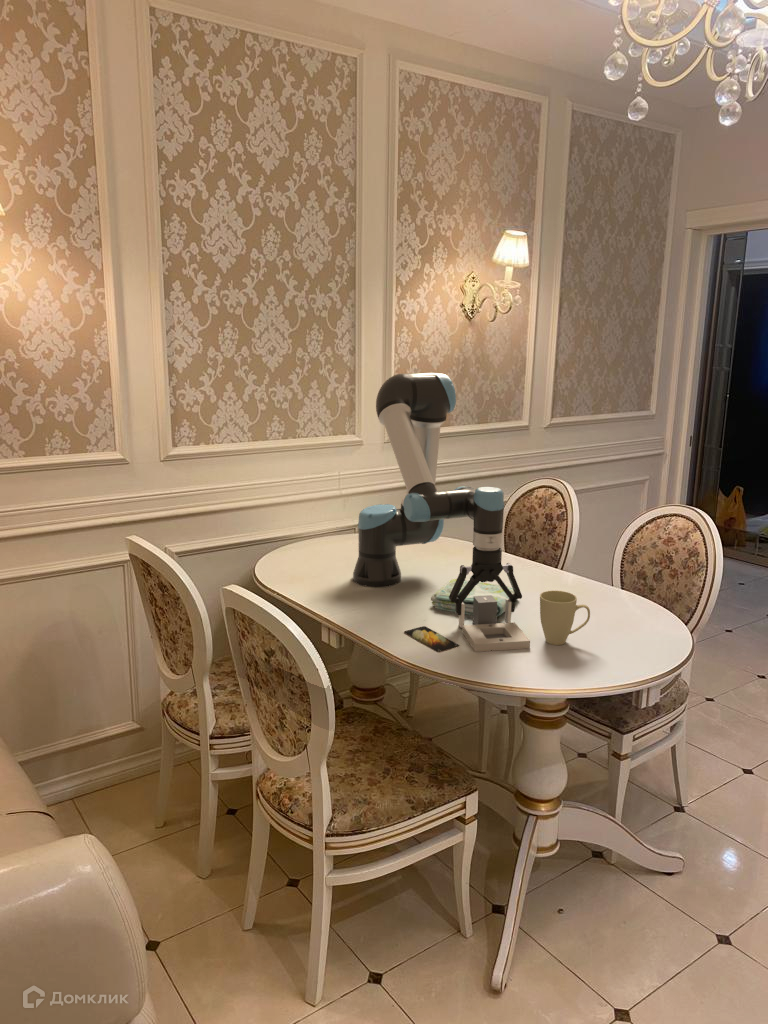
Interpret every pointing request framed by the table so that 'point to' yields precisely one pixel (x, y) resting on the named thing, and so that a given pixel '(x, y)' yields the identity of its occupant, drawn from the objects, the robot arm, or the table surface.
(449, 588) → the towel
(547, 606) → the mug
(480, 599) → the block
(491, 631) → the socket plate
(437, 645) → the smartphone
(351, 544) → the table surface
